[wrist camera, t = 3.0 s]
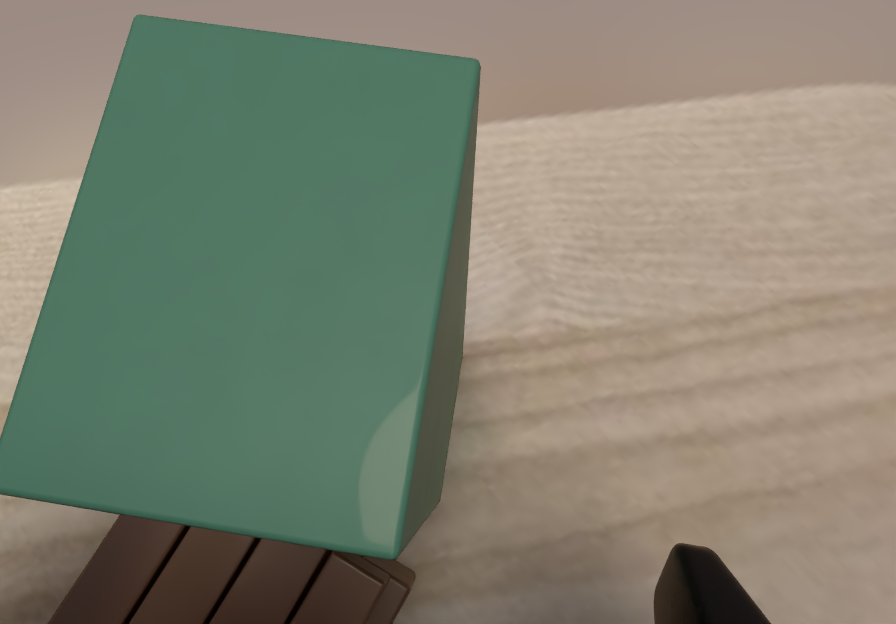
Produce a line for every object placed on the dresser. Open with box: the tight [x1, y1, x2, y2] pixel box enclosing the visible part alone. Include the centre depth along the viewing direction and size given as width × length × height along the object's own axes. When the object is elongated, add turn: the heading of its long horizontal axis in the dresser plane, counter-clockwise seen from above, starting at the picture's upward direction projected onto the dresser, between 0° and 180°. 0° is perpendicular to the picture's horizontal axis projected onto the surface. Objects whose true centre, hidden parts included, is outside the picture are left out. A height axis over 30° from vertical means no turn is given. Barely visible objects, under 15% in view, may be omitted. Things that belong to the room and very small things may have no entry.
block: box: [0, 15, 481, 560], centre depth 11 cm, size 4×3×13 cm
